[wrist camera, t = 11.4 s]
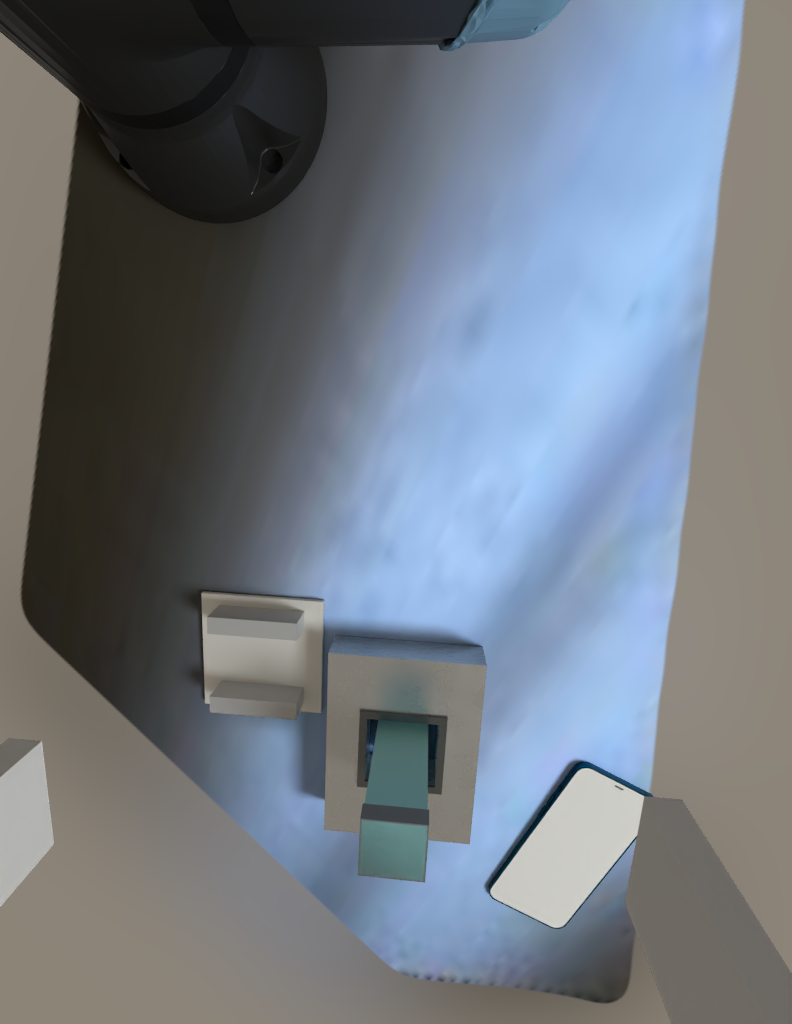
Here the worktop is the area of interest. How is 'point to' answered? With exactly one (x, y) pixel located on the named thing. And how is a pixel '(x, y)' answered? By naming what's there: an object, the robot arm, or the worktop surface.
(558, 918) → the smartphone
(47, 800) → the robot arm
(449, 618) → the worktop surface
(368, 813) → the plug
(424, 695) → the port panel
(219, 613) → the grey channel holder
